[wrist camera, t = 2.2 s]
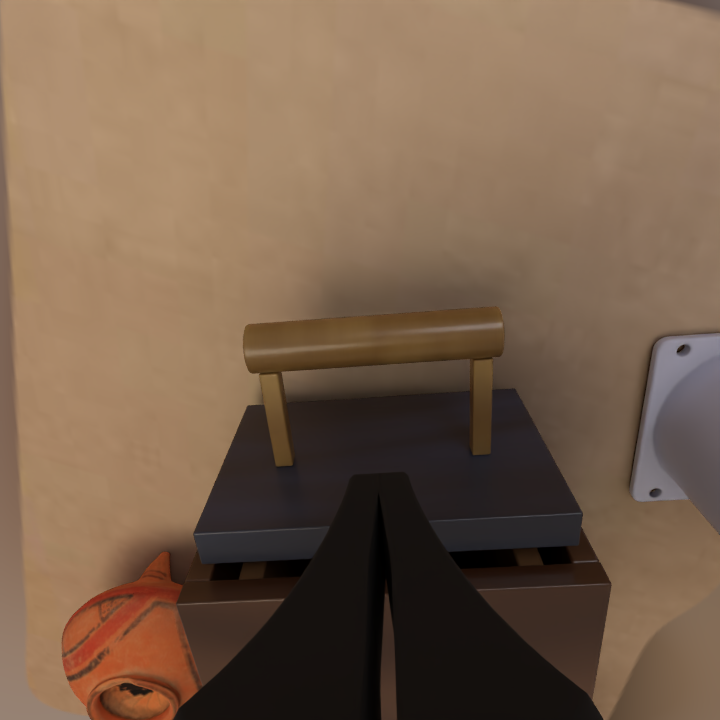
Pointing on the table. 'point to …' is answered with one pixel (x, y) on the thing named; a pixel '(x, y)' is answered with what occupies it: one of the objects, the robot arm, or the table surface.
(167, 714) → the pot
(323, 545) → the robot arm
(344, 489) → the drawer
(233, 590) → the cabinet
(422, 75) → the table surface
